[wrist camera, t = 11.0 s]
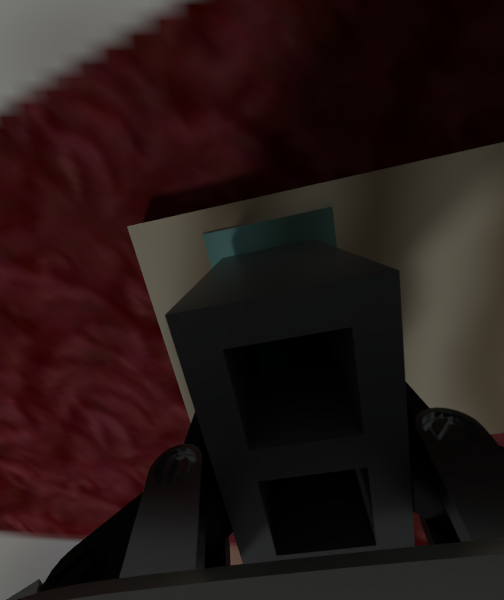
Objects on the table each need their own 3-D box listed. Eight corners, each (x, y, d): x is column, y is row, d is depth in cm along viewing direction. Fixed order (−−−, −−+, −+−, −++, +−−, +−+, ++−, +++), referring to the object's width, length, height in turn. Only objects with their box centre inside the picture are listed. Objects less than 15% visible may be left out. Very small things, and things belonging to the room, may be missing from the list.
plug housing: (222, 257, 11) (164, 315, 4) (313, 239, 11) (399, 270, 4) (266, 445, 14) (272, 656, 7) (341, 434, 14) (420, 646, 7)
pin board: (586, 126, 11) (821, 58, 7) (553, 403, 15) (686, 487, 10) (141, 225, 13) (73, 229, 8) (211, 449, 17) (191, 539, 12)
